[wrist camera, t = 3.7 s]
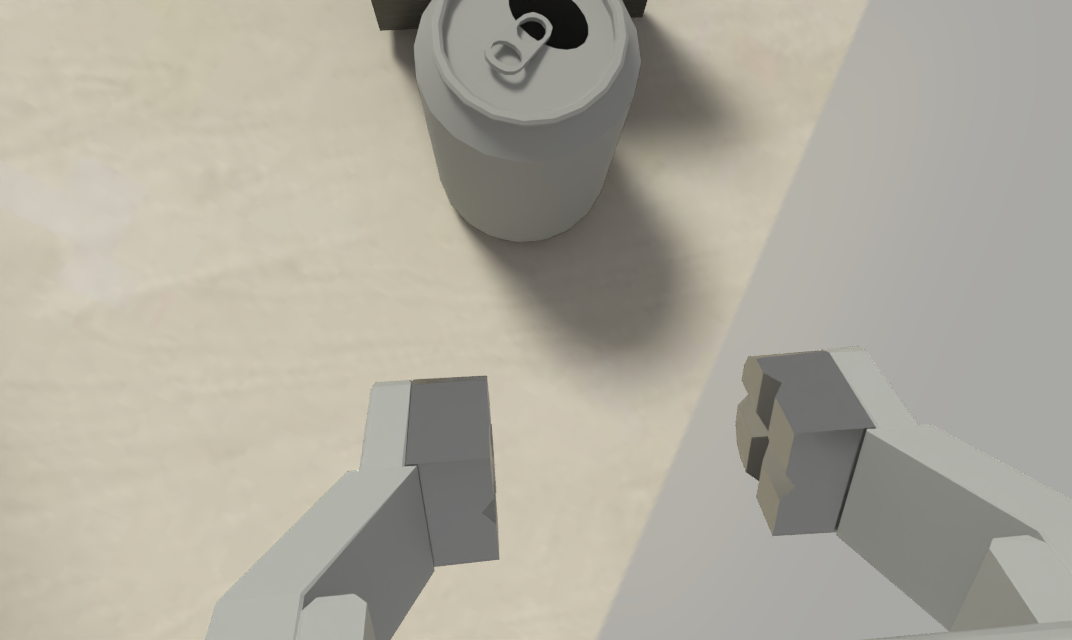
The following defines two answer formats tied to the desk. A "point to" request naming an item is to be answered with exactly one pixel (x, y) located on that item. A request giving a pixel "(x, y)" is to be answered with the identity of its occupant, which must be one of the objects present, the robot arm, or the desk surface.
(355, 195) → the desk surface
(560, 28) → the can
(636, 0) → the gauge plunger
